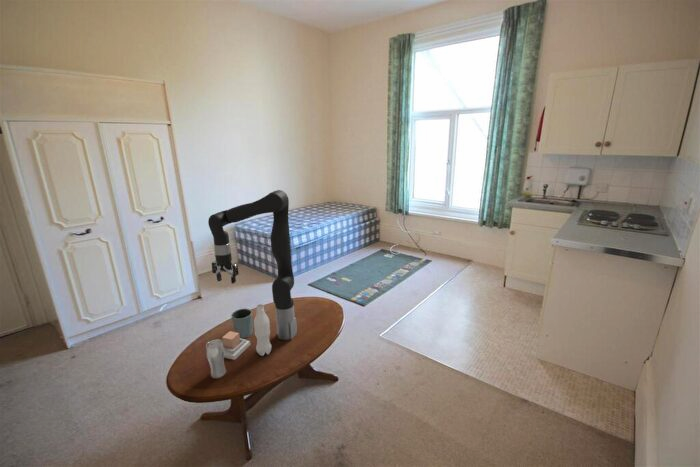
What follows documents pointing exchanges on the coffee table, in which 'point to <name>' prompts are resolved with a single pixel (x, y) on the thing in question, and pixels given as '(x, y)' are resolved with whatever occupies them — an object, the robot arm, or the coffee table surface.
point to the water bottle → (262, 331)
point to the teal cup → (243, 322)
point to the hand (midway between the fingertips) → (226, 281)
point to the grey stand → (236, 349)
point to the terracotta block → (231, 340)
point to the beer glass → (216, 357)
